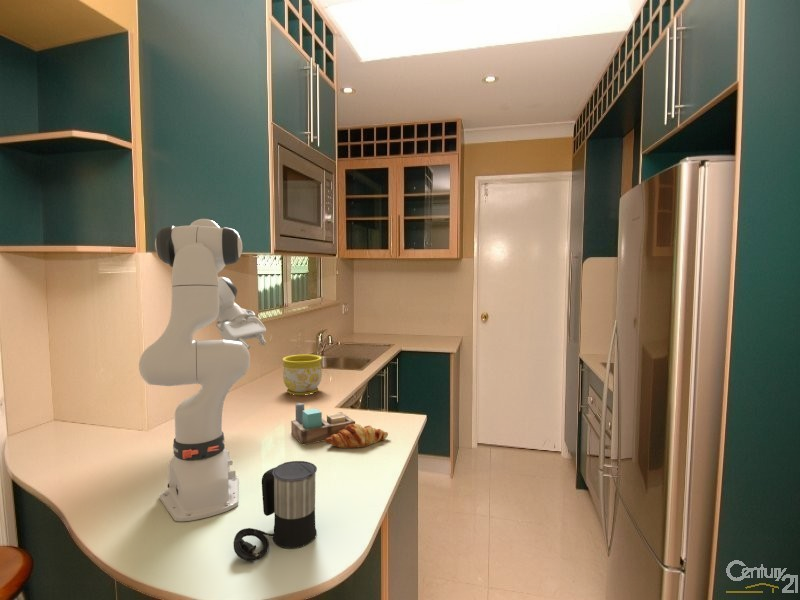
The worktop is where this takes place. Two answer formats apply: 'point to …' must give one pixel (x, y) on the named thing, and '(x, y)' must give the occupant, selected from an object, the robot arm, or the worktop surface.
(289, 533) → the milk frother
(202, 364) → the robot arm
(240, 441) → the worktop surface
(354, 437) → the croissant
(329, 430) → the tray
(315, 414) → the block
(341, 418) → the oak block
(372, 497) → the worktop surface
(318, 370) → the flowerpot
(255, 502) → the worktop surface
